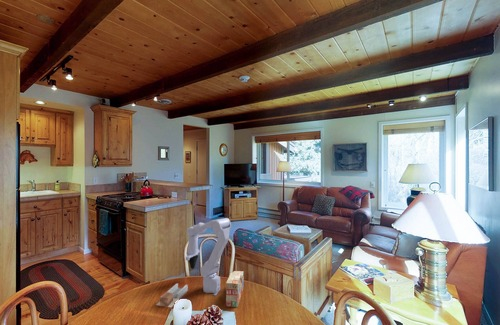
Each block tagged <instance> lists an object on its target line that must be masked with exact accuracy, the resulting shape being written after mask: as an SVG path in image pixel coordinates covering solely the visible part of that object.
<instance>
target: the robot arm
mask: <svg viewBox="0 0 500 325" xmlns="http://www.w3.org/2000/svg"><path fill="white" fill-rule="evenodd" d="M231 228H232V223H231V220H230V219H229V218H228V217H223V218H218V219H213V220H210V221H207V222H206V223H204V222H198V224H194V225H192V226H189V227H187V229H186V236H188V242H187V243H188V246H187V247H188V249H187V250H188V251H187V252H186V255H185V261H188V263H189V267H190V269H195V268H196V265H197V264H196V263H197V261H198V259H199V254H200V249H199V245H198V244H199V240H198V239H199V238H200V237H199V235H200V234H203V233H205V232H206V231H207V229H208V230H209V229H211V230H212V231H213V232H214V234H215V237H216V238H217V239H216V242H215V244H214V247H213V249H212V251H211V254H210V255H209V258H208V260H207V261H205V262H204V263H203V265H202V266H201V267H200V269H199V270H200V275H201V276H202V277H203V278H202V280H203V281H202V283H203V284H202V285H203V286H202V289H203V290H202V291H203V293H207V294H209V293H212V296H217V295H218V293H219V292H220V291H221V276H219V275H217V274H218V272H219V269H220V264H221V263H220V262H219V261H220V259H221V256H222V254H223V252H224V249H225V248H226V246H227V244H228V241H229V239H230V231H231Z"/></svg>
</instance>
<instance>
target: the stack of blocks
mask: <svg viewBox="0 0 500 325" xmlns="http://www.w3.org/2000/svg"><path fill="white" fill-rule="evenodd" d="M244 277H245V276H244V271H241V270H234V271H232V272H230V274H229V276H228V278H227V280H226V283H225V307H228V308H229V307H231V308H238V306H239V304H240V301H241V298H242V297H241V296H242V293H243V290H244V287H245V286H244V282H245V281H244V280H245V279H244Z"/></svg>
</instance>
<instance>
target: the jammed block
mask: <svg viewBox="0 0 500 325" xmlns="http://www.w3.org/2000/svg"><path fill="white" fill-rule="evenodd" d="M159 302H160V305H162V306H161V307H165V306H169V305H170V304H171V303H172V302H173V293H168V292H167V291H165V292H164V293H163V294H162V295H161V296H159Z"/></svg>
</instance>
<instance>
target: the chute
mask: <svg viewBox="0 0 500 325" xmlns="http://www.w3.org/2000/svg"><path fill="white" fill-rule="evenodd" d="M188 286H189V285H188V284H185V285H184V286H183V287H179V283H175V284H174V285H173V286H172V287H170V288H169V289H168V290H167V291H166V292H168V293H173V302H172V303H171V304H170V305H169V306H164V307H166V308H167V307H168V308H173V307H174V305H175V304H176V303H177V302H178V301H179V300H180V299H181V298H182V297H184V295H185V294H186V293H187V292H188V291H189V290H190V289H188V288H189V287H188ZM177 300H178V301H177ZM176 301H177V302H176ZM175 302H176V303H175ZM174 303H175V304H174ZM155 305H156V306H160V307H163V306H162V305H160V301H158V302H157V303H156V304H155Z"/></svg>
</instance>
